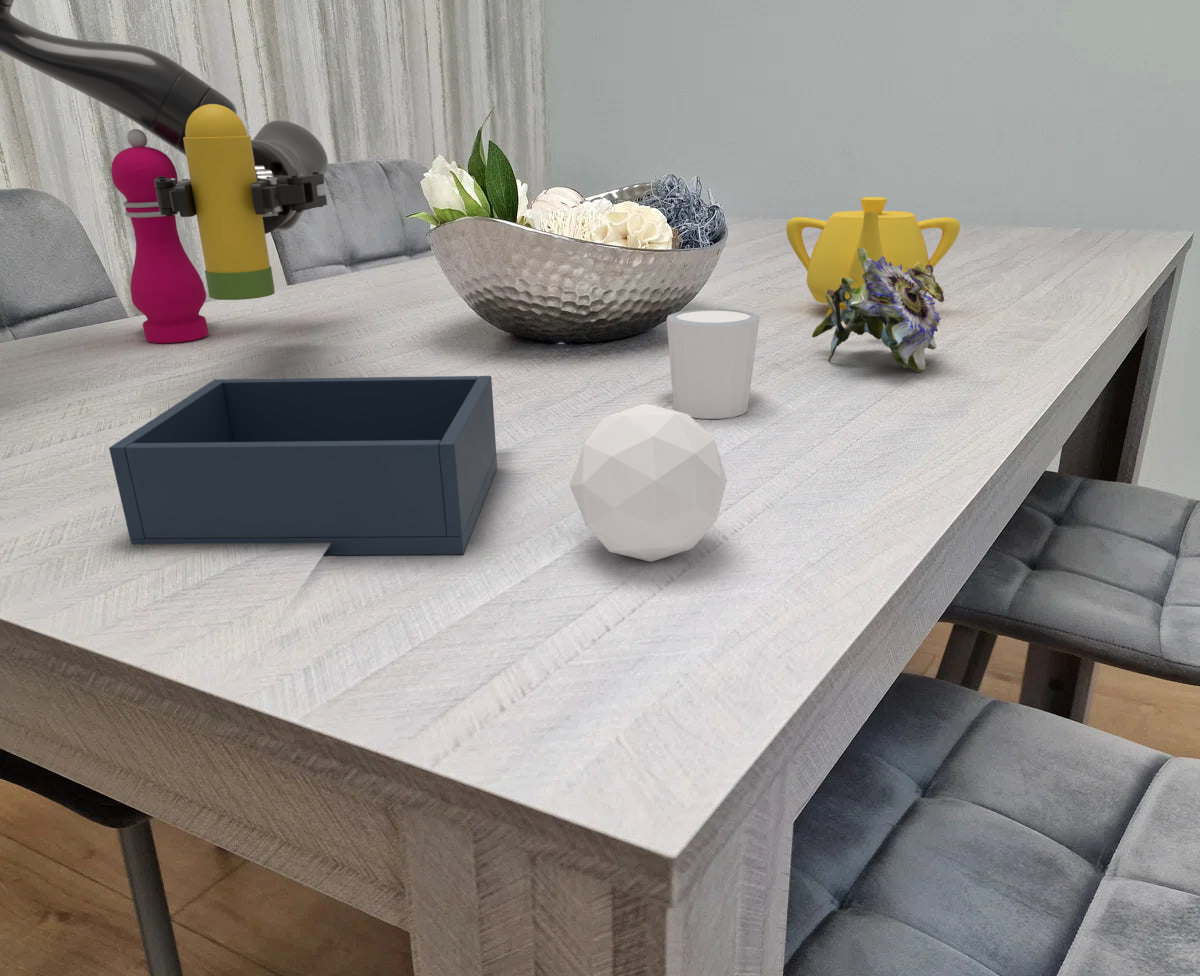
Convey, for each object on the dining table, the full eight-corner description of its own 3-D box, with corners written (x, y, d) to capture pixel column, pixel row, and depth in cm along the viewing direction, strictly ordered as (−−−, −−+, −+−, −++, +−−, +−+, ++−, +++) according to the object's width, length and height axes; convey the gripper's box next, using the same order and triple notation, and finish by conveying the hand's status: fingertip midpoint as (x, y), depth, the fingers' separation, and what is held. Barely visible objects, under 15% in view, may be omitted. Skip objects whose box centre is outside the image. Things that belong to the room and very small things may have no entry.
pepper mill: (161, 347, 105) (115, 130, 96) (128, 339, 109) (81, 130, 101) (226, 335, 110) (188, 127, 101) (192, 327, 114) (153, 127, 105)
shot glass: (679, 395, 83) (680, 305, 80) (764, 400, 81) (768, 309, 78) (654, 417, 78) (654, 322, 75) (745, 424, 75) (749, 326, 72)
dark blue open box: (133, 556, 55) (108, 447, 53) (230, 469, 68) (214, 379, 66) (463, 554, 54) (454, 443, 52) (497, 467, 68) (491, 375, 65)
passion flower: (907, 431, 92) (929, 336, 81) (789, 398, 95) (796, 303, 84) (944, 339, 96) (970, 238, 86) (830, 310, 99) (842, 209, 89)
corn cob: (199, 300, 81) (164, 104, 75) (222, 290, 85) (191, 104, 79) (263, 299, 80) (233, 103, 74) (283, 289, 85) (256, 103, 79)
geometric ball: (666, 583, 57) (739, 456, 57) (682, 594, 49) (767, 446, 49) (545, 514, 57) (618, 386, 56) (543, 514, 49) (627, 364, 48)
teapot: (770, 311, 116) (775, 198, 111) (862, 297, 123) (871, 190, 118) (861, 330, 106) (871, 205, 101) (956, 313, 113) (970, 196, 107)
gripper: (343, 228, 95) (325, 249, 80) (180, 233, 93) (129, 257, 78) (332, 138, 92) (311, 142, 76) (163, 142, 90) (107, 148, 75)
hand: (220, 200), depth 77 cm, fingers closed on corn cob, 5 cm apart
